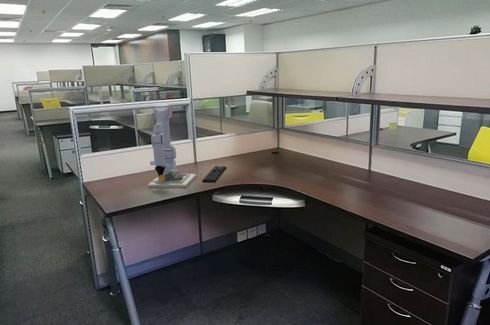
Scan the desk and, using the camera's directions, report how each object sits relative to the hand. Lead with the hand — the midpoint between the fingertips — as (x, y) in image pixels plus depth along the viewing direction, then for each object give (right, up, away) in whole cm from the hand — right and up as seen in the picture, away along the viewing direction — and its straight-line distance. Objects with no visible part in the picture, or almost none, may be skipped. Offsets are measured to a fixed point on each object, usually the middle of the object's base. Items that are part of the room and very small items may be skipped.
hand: (161, 178), depth 204 cm
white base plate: (+5, -2, +7) cm, 9 cm away
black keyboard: (+29, +1, +19) cm, 35 cm away
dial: (+4, -1, +5) cm, 7 cm away
